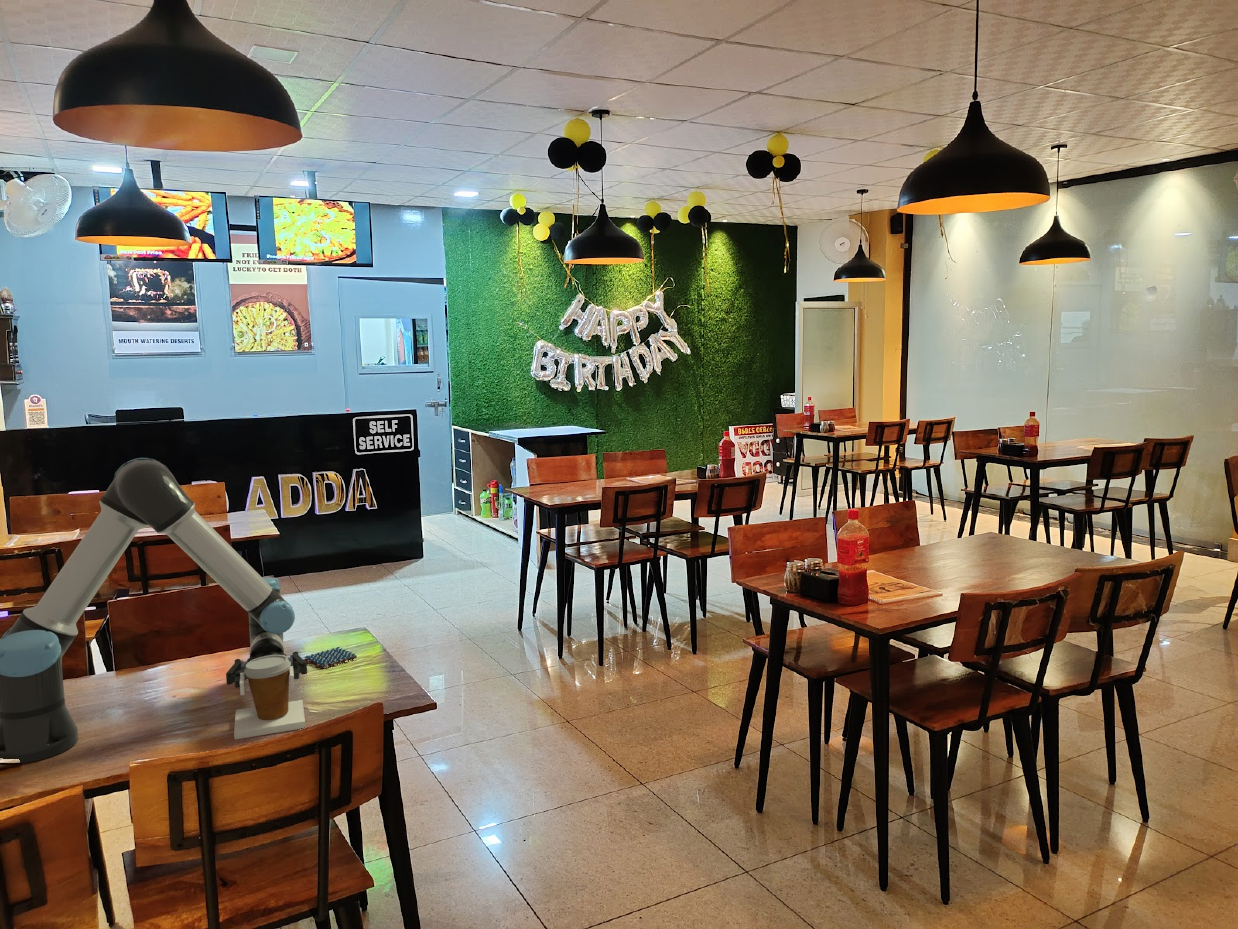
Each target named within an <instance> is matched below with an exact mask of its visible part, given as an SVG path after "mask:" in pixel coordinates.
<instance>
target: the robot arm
mask: <svg viewBox="0 0 1238 929" xmlns="http://www.w3.org/2000/svg"><path fill="white" fill-rule="evenodd" d="M99 506H100V512H99V514H98V515H97V517H96V518H95V519H94V521H93V522H92V524H91V525H90V527H89V528H88V530H87V531H86V533H85V535H84V536H83V537H82V539H81V540H80V541H79V543H78V545H77V546H76V547H75V549H74V551H73V552H72V553H71V555H70V556H69V558H68V559H67V560H66V562H65V563H64V565H63V566H62V568H61V569H60V571H59V572H58V573H57V575H56V576H55V578H54V580H53V581H52V582H51V584H50V585H49V587H48V588H47V589H46V591H45V592H44V594H43V595H42V596H41V598H40V599H39V601H38V603H37V604H36V605H35V606H32V607H27V608H25V609H24V610H23V611H22V613H21V614H20V615H19V617H18V618H17V620H16V621H15V622H14V623H13V625H12V627H10V628H9V629H8V630H7V631H5V632H4V634H3V635H2V636H1V638H0V758H3V759H19V760H20V763H21V764H26V763H32V762H37V761H42V760H44V759H48V758H51V757H54V756H57V755H59V754H61V753H64V752H66V751H68V750H70V749H71V748H73V747H74V746H75V745H76V744H77V743H78V741H79V729H78V726H77V724H76V723H75V721H74V719H73V717H72V715H71V713H70V712H69V710H68V707H67V706H66V699H65V686H64V678H63V677H64V676H63V666H62V665H63V657H64V655H65V653H66V652H67V650H68V649H69V647H70V646H71V644H72V643H73V641H74V640H75V638H76V637H77V635H78V634H79V630H78V627H77V622H78V620H79V619H80V618H81V616H82V615H83V613H84V612H85V610H86V609H87V607H88V606H89V605H90V603H91V601H92V600H93V598H94V597H95V595H96V594H97V592H98V591H99V590H100V588H101V586H103V583H104V582H105V581H106V580H107V578H108V576H109V575H110V573H111V572H112V570H113V569H114V567H115V565H116V564H117V563H118V561H119V560H120V558H121V557H122V556H123V554H124V552H125V551H126V550H127V548H128V547H129V545H130V544H131V542H132V541H133V540H134V537H135V536H136V535H137V533H138V532H139V530H141V529H145V528H149V527H151V528H152V529H153V530H154V531H155V532H156V533H158V534H165V535H166V536H168V537H169V538H170V539H171V540H172V541H173V542H174V543H175V544H176V545H177V546H178V547H179V548H180V549H181V551H182V550H183V552H184V553H185V554H187V556H188V557H190V558H191V559H192V560H193V562H195V563H196V564H197V565H198V566H199V567H200V569H202V570H203V571H204V572H205V573H206V574H207V575H208V576H210V578H212V580H214V581H215V582H216V584H218V585H219V586H220V588H222V589H223V590H224V591H225V592H226V593H227V594H228V595H229V596H230V597H231V598H232V599H233V600H234V601H235V602H236V603H238V604H239V605H240V607H242V608H243V610H245V611H246V612H247V613H248V624H249V625H248V627H249V628H248V629H249V630H248V631H249V644H250V646H249V657H248V659H246V660H243V659H242V660H241V659H240V658H236V659H234V663H233V664H232V665H231V667H230V668H229V669H228V671H227V672H226V673H225V679H226V685H227V686H230V685H232V684H234V688H237V689H239V694H240V696H245V692H246V691H245V689H246V688H245V687H246V681H248V678H247V676H246V675H245V673H244V670H245V668H246V664H247V663H248V662H250V661H251V660H254V659H256V658H259V657H264V656H269V655H284V656H287V657H288V660H289V661H290V662H291V665H290V669H289V685H290V688H291V689H294V688H296V687H295V680H299V679H300V675H307V674H308V663H306V662H305V661H304V660H303V658H302V657H301V656H300V655H299V651H293V652H292V653H290V654H289V655H287V654H286V653H285V649H284V648H285V647H284V633H286V632H287V631H289V630H290V629H291V627H292V626H293V624H294V623H295V619H296V617H295V616H296V615H295V611H294V609H293V606H292V605H291V604H290V603H288V602H287V601H286V600H285V598H284V597H283V596H282V595H281V587H280V580H279V579H278V578H277V577H272V576H266V577H265V576H264V577H262V576H261V575H260V573H258V571H256V570H255V569H254V568H253V567H252V566H251V565H250V564H249V563H248V562H247V561H246V560H245V559H244V558H243V557H242V556H241V554H239V553H238V552H237V551H236V550H235V549H234V548H233V547H232V546H231V544H229V542H228V541H226V540H225V539H224V538H223V537H222V536H221V535H220V534H219V533H218V532H217V531H216V530H215V528H213V527H212V526H211V525H210V524H209V523H208V522H207V521H206V520H205V519H204V518H203V517H202V516H201V515H200V514H199V513H198V512H197V511H196V510H195V509H196V503H195V502H194V501H193V499H191V498H190V497H189V496H188V495H187V493H186V492H185V491H184V490H183V488H182V487H181V486H180V484H179V483H178V481H177V480H176V478H175V476H174V475H173V473H172V472H171V471H170V469H169V468H168V467H167V466H166V465H165V464H163V463H162V462H160V461H158V460H156V459H155V458H154V459H153V458H148V457H139V458H134V459H131V460H128V461H127V462H124V463H123V464H122V465H120V467H119V468H118V469H117V470H116V471H115V473H114V477H113V480H112V482H111V483H110V485H109V486H108V488H107V489H106V491H105V492H104V494H103V495H102V497H101V498H100V499H99ZM67 749H68V750H67ZM58 753H59V754H58ZM56 754H57V755H56ZM50 756H51V757H50Z"/></svg>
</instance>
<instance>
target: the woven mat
mask: <svg viewBox="0 0 1238 929" xmlns="http://www.w3.org/2000/svg"><path fill="white" fill-rule="evenodd" d="M357 658H358V657H357V654H356V653H353V652H351V651H349V650H346V649H344V648H342V647H341V648H340V646H337V647H332V648H331V649H326V650H324V651H320V652H316V653H311V654H309V655H306V656H305V657H304V659H303V658H302V659H303V660H304V661H305V662H306V663H307V664H308V665H311V664H312V665H311V666H313V665H314V666H313V667H315V668H316V667H318V669H319V668H324V669H327V668H328V667H329V668H330V666H332V665H334V666H332V667H337V666H338V665H337V664H340V665H341V663H344V662H345V661H348V662H349V660H350V661H352V660H351V659H356V660H357ZM325 667H326V668H325ZM329 668H328V669H329Z"/></svg>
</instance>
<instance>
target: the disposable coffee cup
mask: <svg viewBox="0 0 1238 929" xmlns="http://www.w3.org/2000/svg"><path fill="white" fill-rule="evenodd" d="M287 656H288V655H286V656H284V655H269V656H264V657H259V658H256V659H254V660H251V661H250V662H248V663H247V664H246V668H245V670H244V673H245V675H246V676H247V678H248V679H247V681H248V685H249V688H250V692H251V697H252V701H253V703H254V707H255V708H256V711H257V715H258V718H259V719H262V720H270V719H276V718H279V717H282V716H284V715H285V714H287V713H288V703H289V702H290V701H289V696H290V695H289V694H290V693H289V692H290V690H289V689H290V675H289V669H290V665H291V662H290V661H289V660H288V657H287Z"/></svg>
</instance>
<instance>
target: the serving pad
mask: <svg viewBox="0 0 1238 929" xmlns="http://www.w3.org/2000/svg"><path fill="white" fill-rule="evenodd" d="M305 718H306V717H305V710H304V702H303V699H298V700H292V701H289V703H288V713H287V714H285V715H284V716H282V717H279V718H276V719H270V720H262V719H259V718H258V715H257V711H256V708H255V706H252V707H246V708H240V709H236V710H235V716H234V729H233V731H234V732H233V733H234V734H233V737H234V740H241V739H246V738H252V737H257V736H265V735H270V734H276V733H283V732H289V731H295V730H302V729H305V728H306V719H305ZM304 727H305V728H304ZM301 728H302V729H301Z"/></svg>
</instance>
